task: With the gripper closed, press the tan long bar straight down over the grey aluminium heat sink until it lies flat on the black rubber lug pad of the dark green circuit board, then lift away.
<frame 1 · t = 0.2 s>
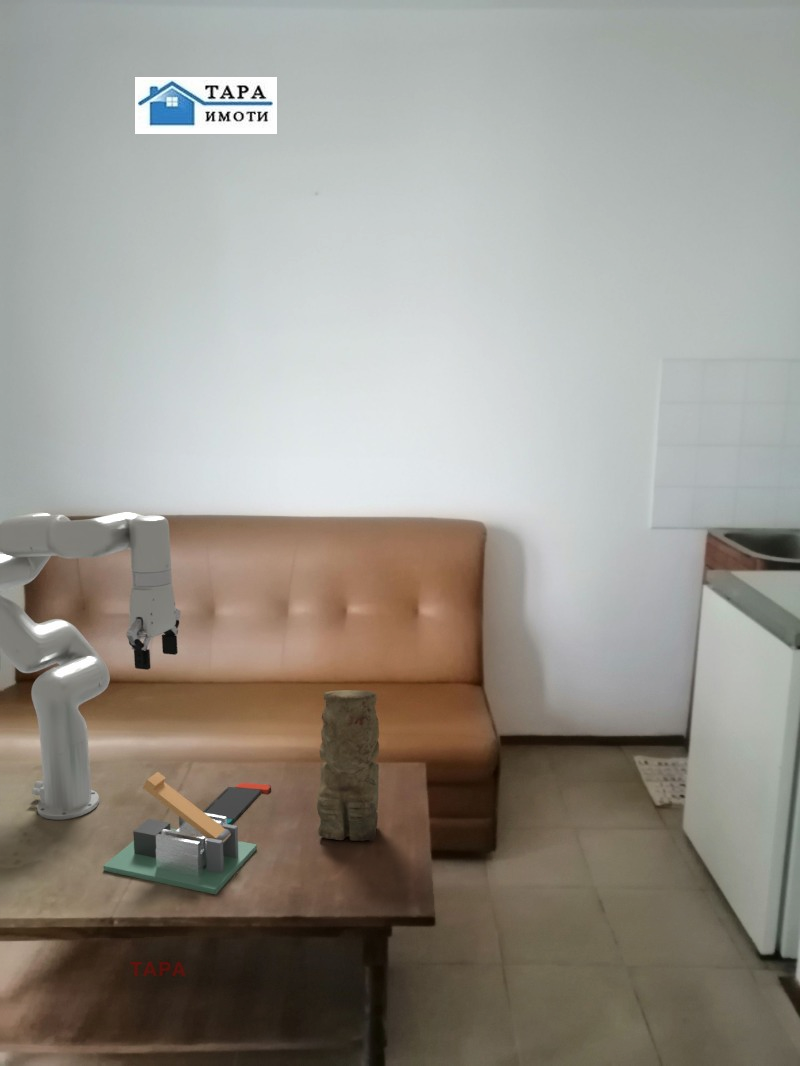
hand: (156, 661, 171), 36 cm above the table, tool pointing down, fingers open, 9 cm apart
tan long bar: (187, 809, 162), point 11 cm above the table, hinge at 30.0°
sculpture: (348, 834, 175), on the table
gaming console: (234, 807, 186), on the table
circuit board: (182, 859, 165), on the table
heat sink: (193, 861, 164), resting on circuit board
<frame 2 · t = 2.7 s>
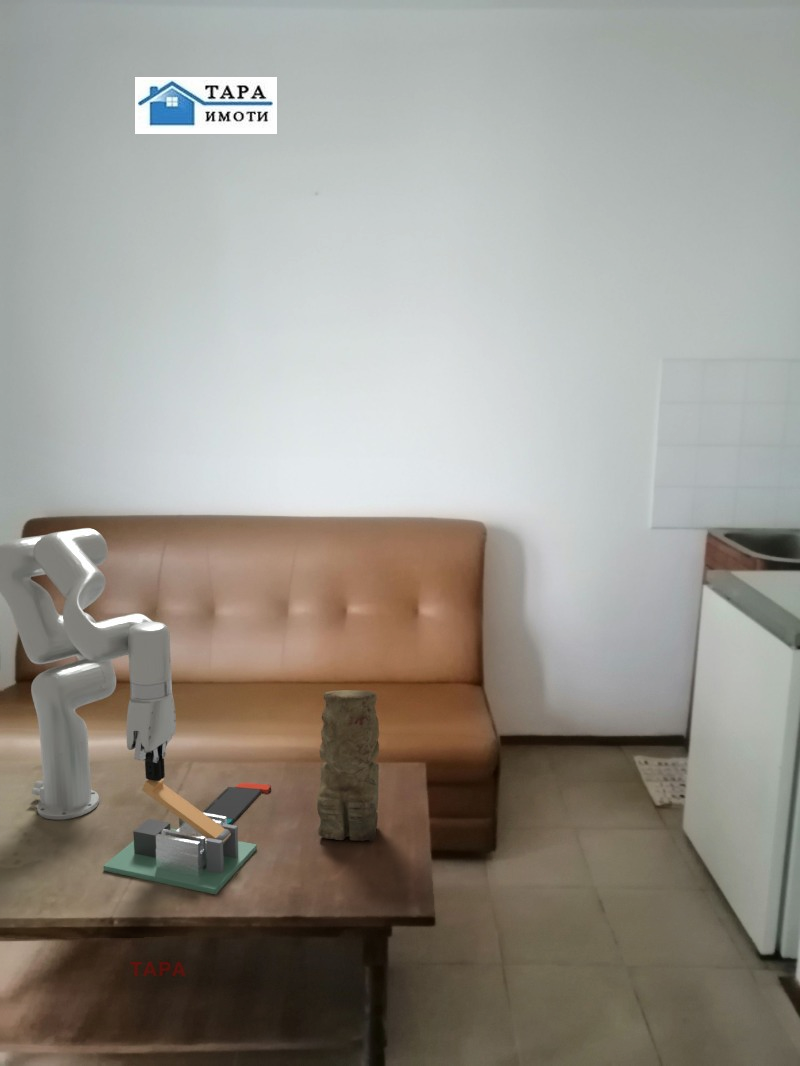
hand: (155, 778, 163), 16 cm above the table, tool pointing down, fingers closed
tan long bar: (187, 810, 162), point 11 cm above the table, hinge at 28.2°, touching gripper
everything else where it was.
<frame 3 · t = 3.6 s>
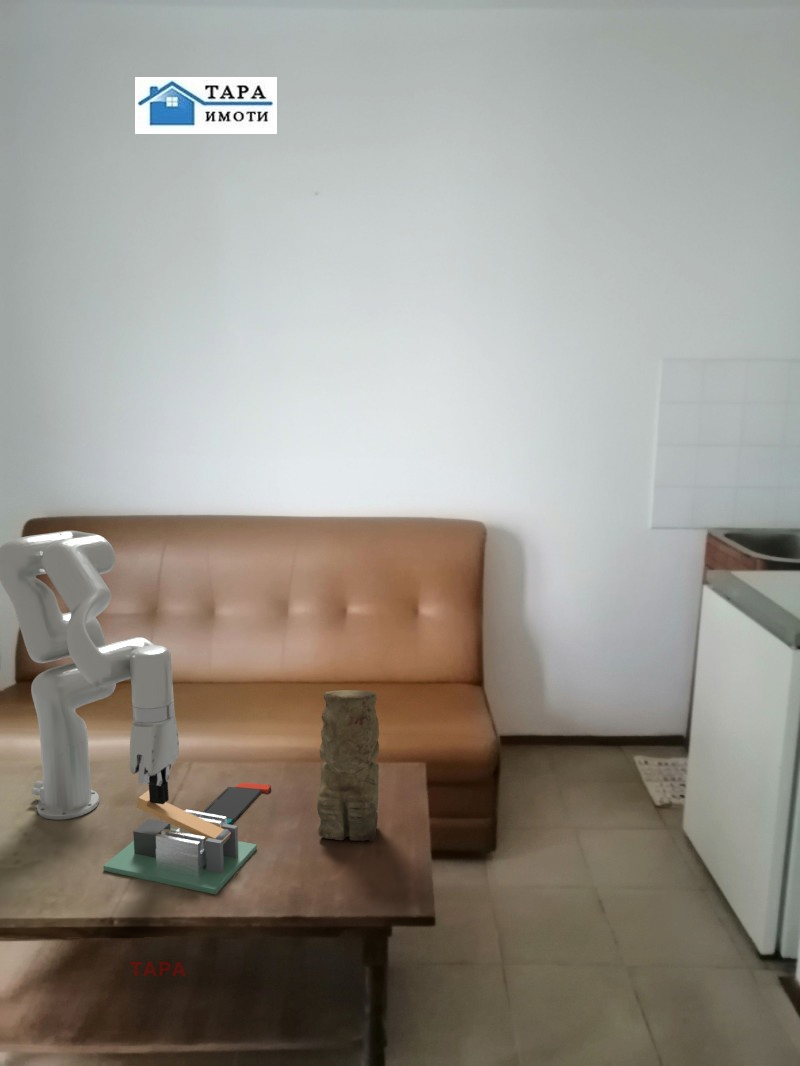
hand: (159, 801, 164), 12 cm above the table, tool pointing down, fingers closed
tan long bar: (184, 818, 163), point 9 cm above the table, hinge at 15.4°, touching gripper
everything else where it was.
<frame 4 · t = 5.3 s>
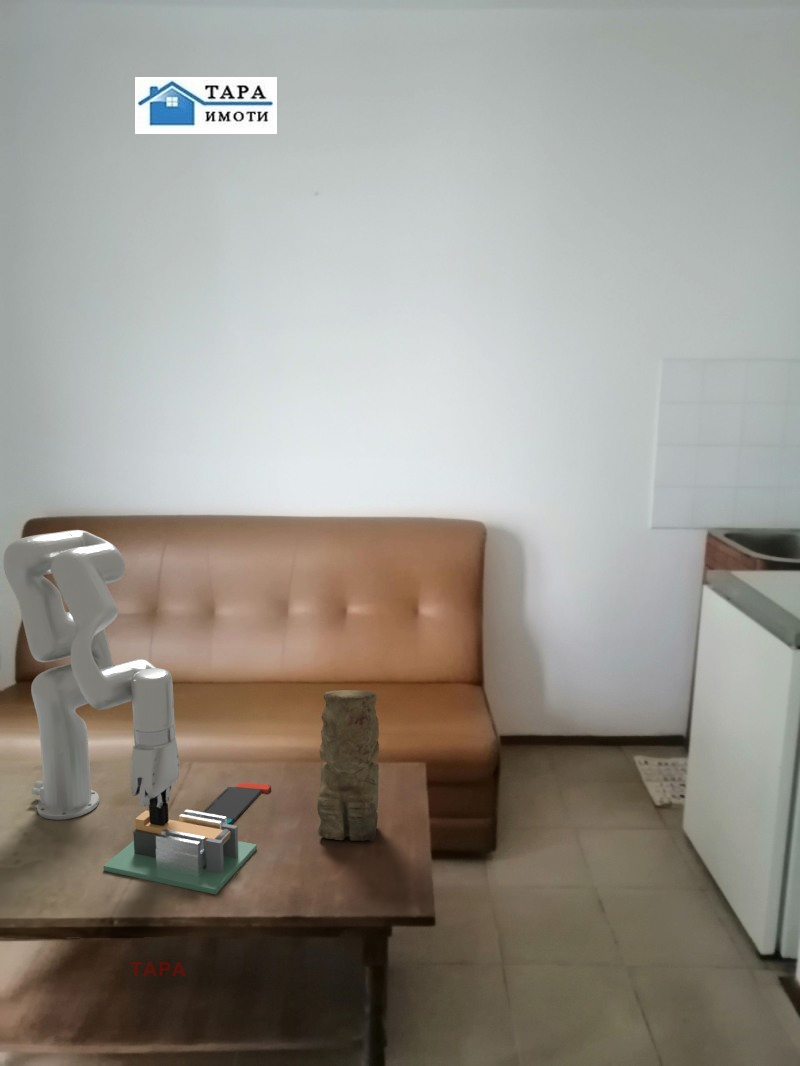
hand: (159, 822, 165), 7 cm above the table, tool pointing down, fingers closed
tan long bar: (182, 828, 163), point 7 cm above the table, hinge at 0.4°, touching circuit board, gripper
everything else where it was.
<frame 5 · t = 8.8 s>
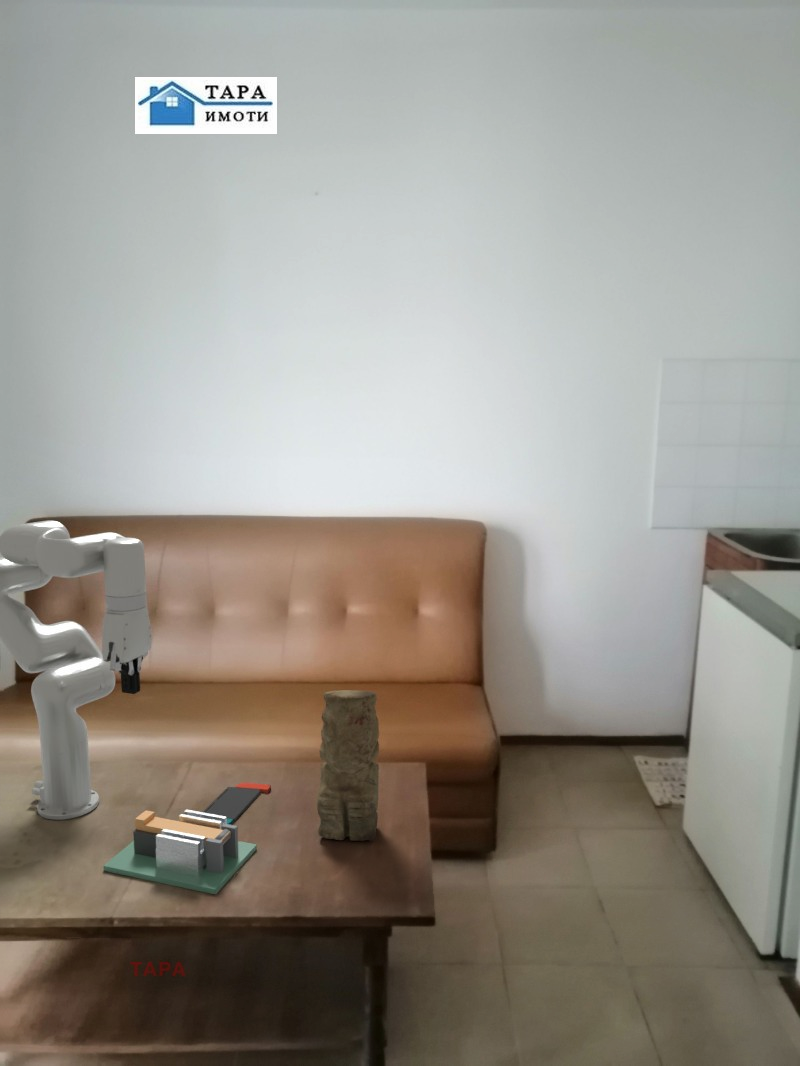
hand: (131, 691, 167), 31 cm above the table, tool pointing down, fingers closed
tan long bar: (182, 828, 163), point 7 cm above the table, hinge at 0.4°, touching circuit board
everything else where it was.
at the end: tan long bar at +0° (first picture: +30°); tan long bar touching circuit board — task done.
